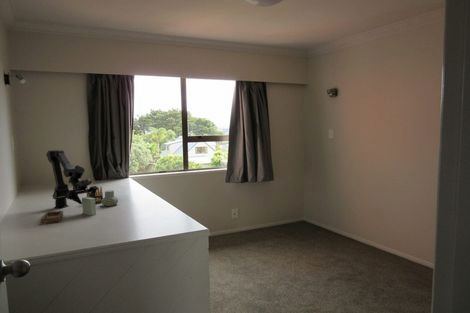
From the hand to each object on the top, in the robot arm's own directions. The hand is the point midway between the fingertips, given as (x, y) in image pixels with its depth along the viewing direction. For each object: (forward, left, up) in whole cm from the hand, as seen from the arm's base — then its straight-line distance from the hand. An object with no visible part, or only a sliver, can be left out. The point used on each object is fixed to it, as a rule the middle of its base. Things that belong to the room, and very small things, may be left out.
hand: (88, 202), depth 204 cm
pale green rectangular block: (0, 0, -7) cm, 7 cm away
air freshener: (-23, -3, -7) cm, 24 cm away
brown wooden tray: (+16, -12, -7) cm, 21 cm away
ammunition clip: (-26, -18, -7) cm, 32 cm away
